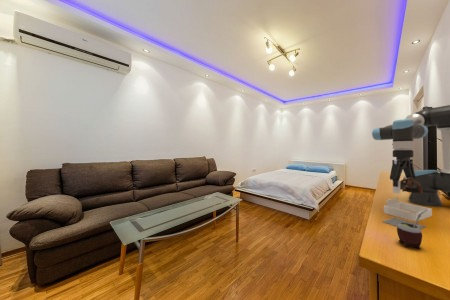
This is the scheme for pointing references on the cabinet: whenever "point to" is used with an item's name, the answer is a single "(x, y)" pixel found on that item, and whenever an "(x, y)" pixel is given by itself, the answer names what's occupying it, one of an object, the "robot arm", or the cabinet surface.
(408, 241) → the mate gourd
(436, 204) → the robot arm
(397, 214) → the carton
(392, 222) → the slate mat
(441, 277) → the cabinet surface
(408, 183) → the pottery mug
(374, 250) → the cabinet surface
